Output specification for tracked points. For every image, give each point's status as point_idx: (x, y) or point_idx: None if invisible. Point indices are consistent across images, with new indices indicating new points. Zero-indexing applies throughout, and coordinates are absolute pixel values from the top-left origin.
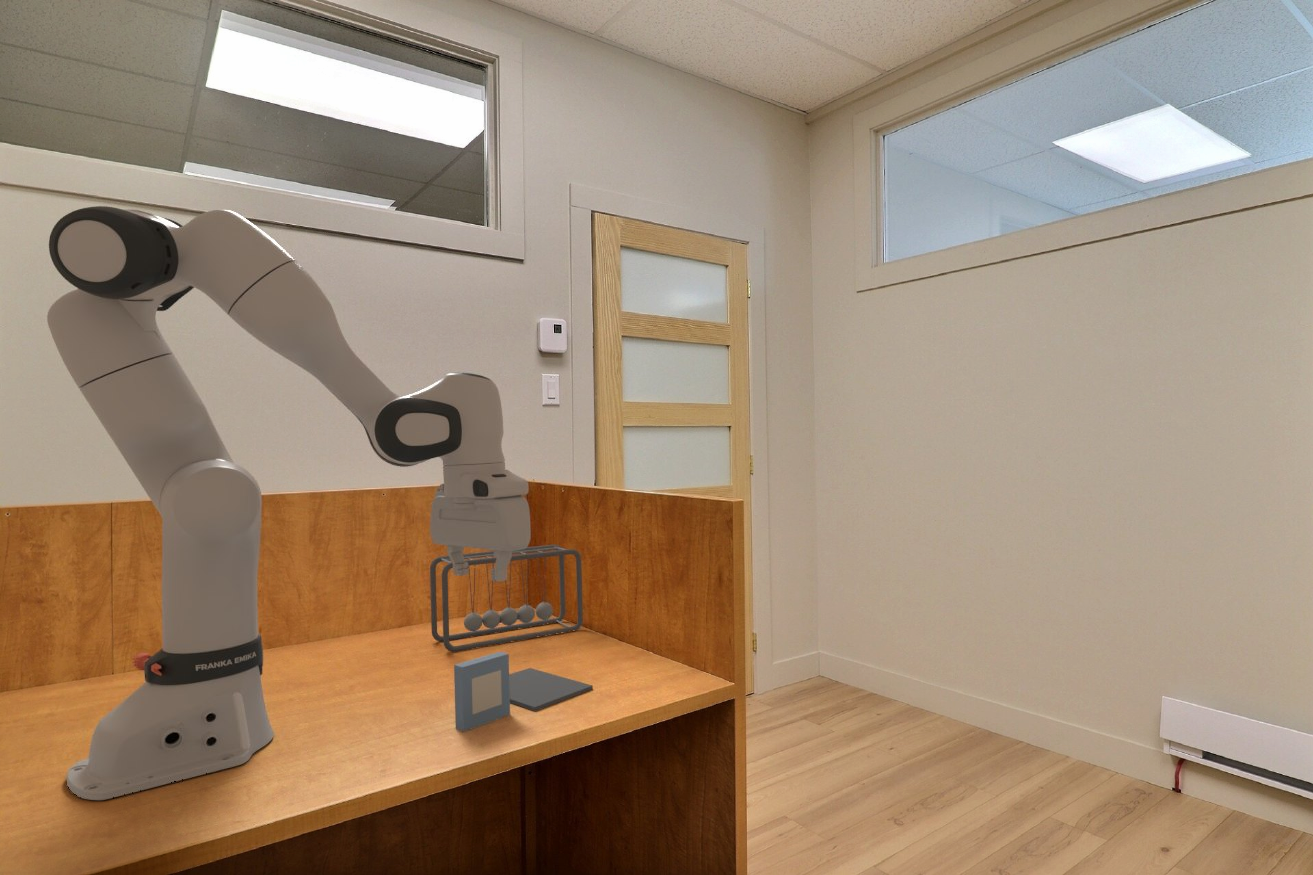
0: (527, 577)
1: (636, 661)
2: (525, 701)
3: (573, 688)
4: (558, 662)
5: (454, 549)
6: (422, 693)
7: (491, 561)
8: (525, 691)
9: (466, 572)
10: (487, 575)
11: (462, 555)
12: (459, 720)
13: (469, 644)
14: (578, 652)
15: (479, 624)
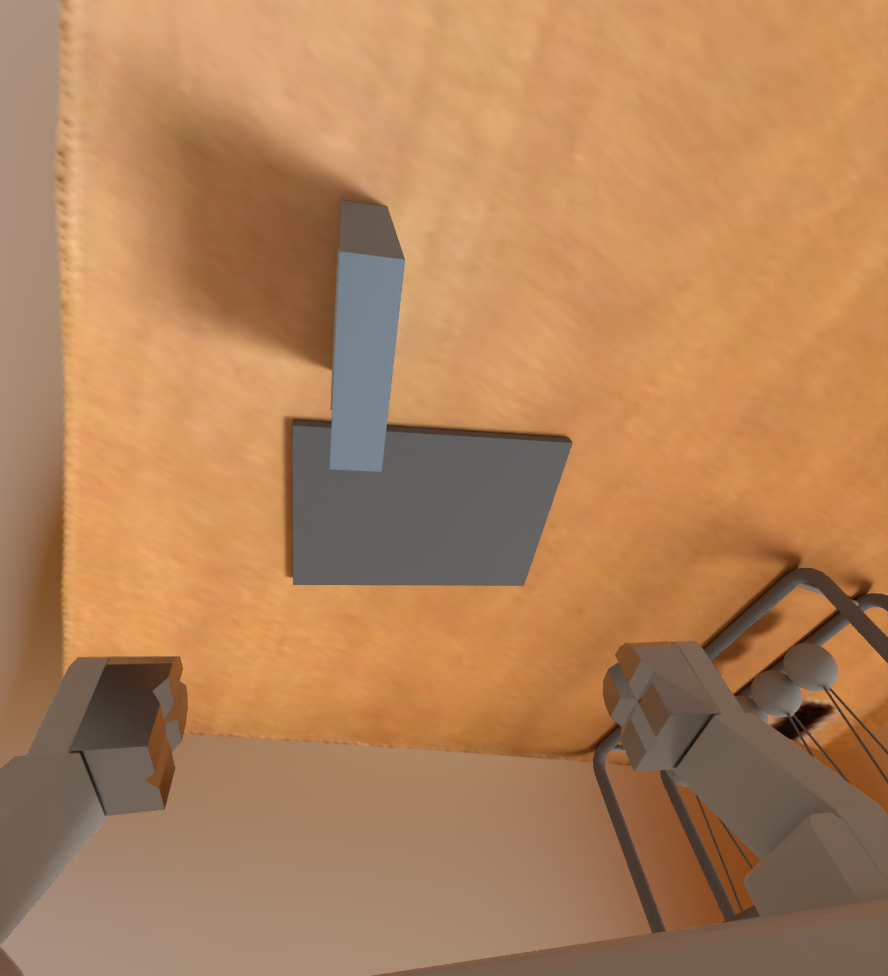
0: None
1: (349, 708)
2: None
3: (317, 553)
4: (501, 638)
5: (808, 859)
6: (688, 353)
7: None
8: (409, 486)
9: (609, 692)
10: None
11: (730, 821)
12: (363, 208)
13: (767, 606)
14: (504, 686)
15: (787, 666)
